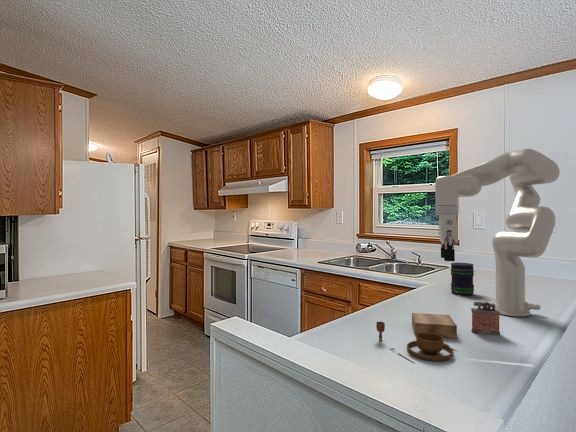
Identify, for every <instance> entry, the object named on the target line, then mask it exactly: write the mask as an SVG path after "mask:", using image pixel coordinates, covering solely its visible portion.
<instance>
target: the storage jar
mask: <svg viewBox="0 0 576 432" xmlns="http://www.w3.org/2000/svg"><path fill="white" fill-rule="evenodd" d="M450 275H451V282H450V291H451V294H452V295H454V294H455V296H458V295H460V296H459V297H473V296H474V293H475V292H474V291H475V288H474V287H475V285H474V276H475V270H474V263H470V262H451V263H450ZM472 295H473V296H472Z"/></svg>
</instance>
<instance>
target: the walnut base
mask: <svg viewBox="0 0 576 432" xmlns="http://www.w3.org/2000/svg"><path fill="white" fill-rule="evenodd" d="M411 325H412V329H413V332H414V335H415V337H416V335H417V334H419V333H433V334H437V335H440V336H441V337H443V339H454V340H456V339H458V333H457V332H458V330H457V329H458V328H457V327H458V326H457V324H456V323H455V321H454V320H453V318H452V317H451V315H450V314H438V313H422V312H411Z"/></svg>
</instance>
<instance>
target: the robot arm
mask: <svg viewBox="0 0 576 432" xmlns="http://www.w3.org/2000/svg"><path fill="white" fill-rule="evenodd" d="M560 175H561V170H560V167H559V165H558V164H557V163H556V161H554V160H552V159H551V158H549V157H548V156H546V155H545V154H543V153H542V152H539V151H537V150H535V149H532V148H524V149H523V148H522V149H518V150H512V151H508V152H507V151H506V152H504V153H502V154H499V155H498V156H495V157H493V158H492V159H490V160H489V159H488V160H487V161H485V162H483V163H481V164H479V165H475V166H473V167H470V168H468V169H465V170H462V171H459V172H456V173H455V174H453V175H442V176H438V177H436V179H435V182H434V183H435V185H434V186H435V187H434V188H435V216H438V225H439V226H438V229H439V234H438V235H439V242H441V244H440V258H442V259H443V260H444V262H455V259H456V258H455V257H456V256H455V255H456V253H455V250H456V249H455V244H457V243H458V242H459V239H458V238H459V237H458V221H457V220H458V219H457V216H459V215H460V214H459V213H460V198H469V197H474V196H477V195H478V194H479V193H480V192H481V190H482V188H483V187H485V186H489V185H494V184H496V183H498V182H500V181H501V180H504V179H505V178H507V177H509V180H510V182H511V185H512V187H513V191H514V199H513V202H512V205H511V206H510V209H509V211H508V213H507V217H506V219H505V224H506V226H507V228H508V229H510V230H501V231H498V232H496V233H495V234H494V236H493V238H492V241H491V242H492V249H493V252H494V258H495V259H494V260H495V310H499V311H500V314H499V315H503V316H509V317H518V318H519V317H520V318H521V317H529V316H530V315H531V310H534V311H540V310H541V305H540V304H536V303H535V304H534V303H530V302H529V303H528V302H527V301H526V268H525V264H524V262H523V261H522V259H521V257H522V258H539V257H541V256H543V254H544V253H545V251H546V249H547V248H548V244H549V242H550V239H551V236H552V234H553V233H554V228H555V225H556V215H555V212H554V211H553V209H551V208H549V207H547V206H540V203H541V197H540V195H539V193H538V191H537V190H536V188H535V187H534V186H535V185H543V184H544V185H545V184H551V183H554V182H556V181H557V180H558V179H559V177H560Z"/></svg>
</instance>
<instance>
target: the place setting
mask: <svg viewBox="0 0 576 432" xmlns="http://www.w3.org/2000/svg"><path fill="white" fill-rule="evenodd" d="M375 325H376V331H377V332H379V333H378V340H379V341H378V342H384V341H383V333H384V331H385V329H386V327H385V322H383V321H376V323H375ZM415 337H416V338H415V339H416V340H413V341H409V342H408V343H406V349H407V351H408V353H410V354H411V355H412V356H414V357H416V358H418V359H420V360H425V361H429V362H444V361H448V360H450V359H451V358H452V357H453V356H454V351H455V352H457V350H456V349H454V348H453V347H451V346H450V345H449V344H447V343H446V342H445V343H444V338H443V337H441V336H440V335H437V334H433V333H419V334H417V335H416V336H415ZM414 347H417V348H418V349H419V350H420V351H421V352H422V353H420V352H416V351H414V350H413V349H412V348H414ZM388 349H389V350H390V351H391V352H392V353H395V350H396V349H395V348H394V347H392V348H391V347H390V348H388ZM441 351H446V352H447V353H448V354H447V355H438V353H440V352H441ZM397 355H398V356H401V357H402V358H404V359H405V360H407V361H409V362H410V363H412V364H416V362H414V361H412V360H411V359H409V358H407V357H406V356H404V355H403V354H401V353H400V352H399V353H397Z"/></svg>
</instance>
